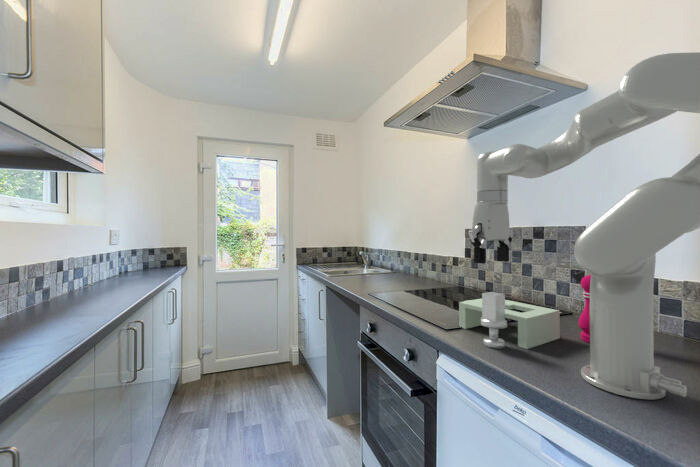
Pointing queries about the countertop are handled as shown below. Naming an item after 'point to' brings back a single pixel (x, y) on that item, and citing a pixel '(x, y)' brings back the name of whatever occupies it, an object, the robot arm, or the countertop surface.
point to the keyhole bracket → (532, 324)
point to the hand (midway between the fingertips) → (491, 262)
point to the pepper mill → (585, 310)
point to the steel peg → (493, 318)
